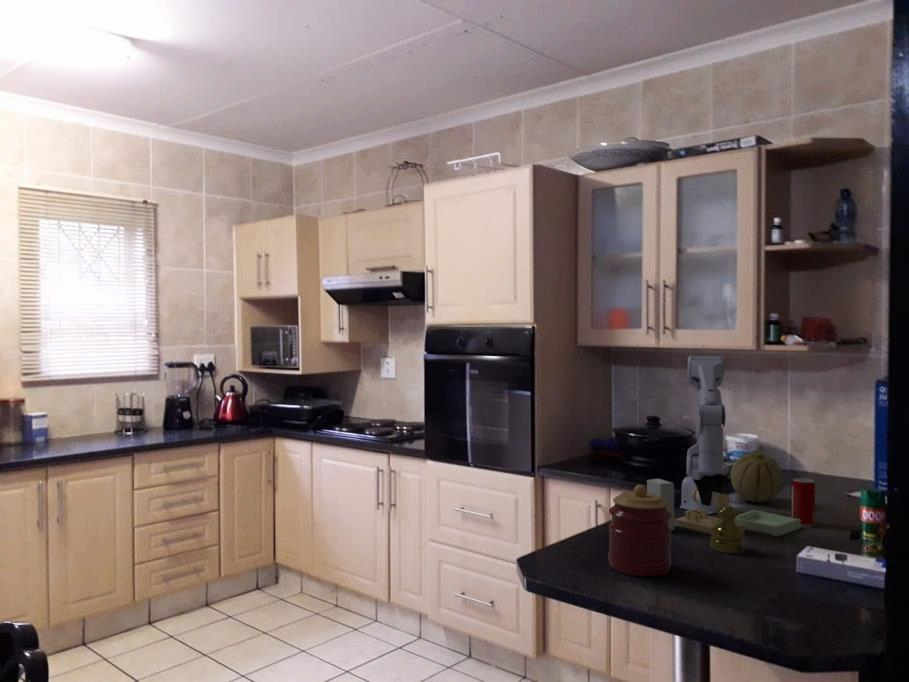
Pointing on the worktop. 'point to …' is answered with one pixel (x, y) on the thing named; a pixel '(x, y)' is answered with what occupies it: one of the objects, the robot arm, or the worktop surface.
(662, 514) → the canister
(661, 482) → the skincare box
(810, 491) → the soda can
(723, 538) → the gold tiered figurine
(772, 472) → the ribbed pale melon
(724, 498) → the fuse
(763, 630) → the worktop surface
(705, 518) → the fuse holder
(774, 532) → the parts tray
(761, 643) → the worktop surface
